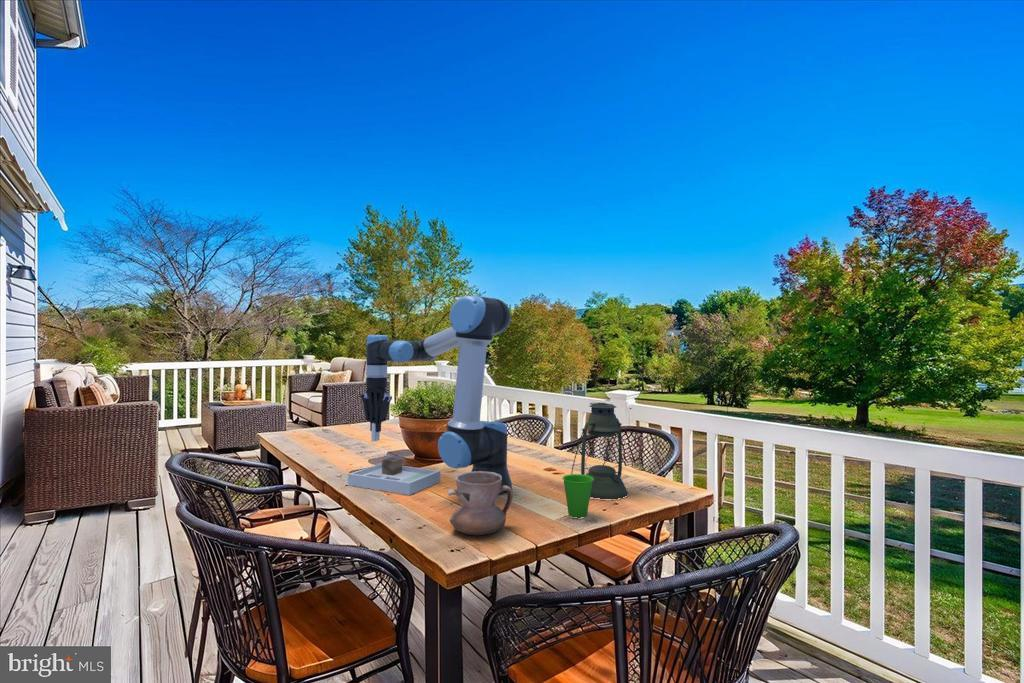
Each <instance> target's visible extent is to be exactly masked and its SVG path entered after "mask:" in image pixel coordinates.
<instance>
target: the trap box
mask: <svg viewBox="0 0 1024 683" xmlns="http://www.w3.org/2000/svg"><path fill="white" fill-rule="evenodd" d="M438 482H439V483H441V470H435V469H428V468H421V467H413V466H406V465H402V472H401V473H399V474H396V475H386V474H382V462H381V463H379V464H378V463H377V464H374V465H372V466H368V467H365V468H363V469H360V470H357V471H353V472H350V473H347V486H348V485H350V486H349V487H354V486H356V488H360V487H363V488H362V489H366V488H370V489H369V490H372V489H376V490H375V491H378V490H383V491H382V492H384V491H389V492H388V493H390V492H395V493H394V494H396V493H400V494H399V495H402V494H406V495H405V496H408V495H410V496H411V494H412V495H414V494H416V492H417V493H419V492H421V491H423V490H425V488H426V489H428V488H430V487H432V486H435V485H436V483H437V484H439V483H438ZM434 484H435V485H434ZM429 486H430V487H429ZM427 487H428V488H427ZM422 489H423V490H422ZM420 490H421V491H420ZM418 491H419V492H418ZM413 493H414V494H413Z"/></svg>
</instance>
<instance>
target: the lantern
mask: <svg viewBox="0 0 1024 683" xmlns="http://www.w3.org/2000/svg"><path fill="white" fill-rule="evenodd" d="M588 407H590V409H591V412H590V413H589V415H588V421H587V422H586V423H585V425H584V427H583V428H582V429H581V431H582V432H581V436H580V439H579V442H578V444H577V445H578V446H577V448H576V451H575V455H574V459H573V463H572V466H571V467H572V468H571V473H570V474H573V471H574V466H575V462H576V458H577V454H578V450H579V448H580V444H581V456H580V458H581V462H580V464H581V465H580V472H581V473H580V474H582V475H588V476H591V477H593V479H594V481H593V482H592V488H591V494H590V497H593V498H600V499H618V498H623V497H625V496H627V494H628V495H629V491H628V490H627V488H626V485H625V484H624V481H623V480H622V478H621V477H622V471H623V445H622V444H623V443H622V442H623V440H622V427H621V426H622V423H621V422H620V421H619V419H618V418H617V415H616V414H615V408H617V406H616V405H614V404H613V403H606V402H594V403H593V402H590V403H589V406H588ZM588 435H589V436H593V437H601V438H605V437H607V438H610V437H614V439H613V441H612V443H611V444H609V445H606V446H605V445H604V446H603V447H601V448H599V449H597V450H595V449H594V448H593V447H592V446H590V444H588V442H587V436H588ZM616 438H617V441H616V442H615V440H616ZM581 441H582V442H581ZM616 443H617V445H618V450H617V453H618V456H617V457H618V460H615V459H612V458H610V457H609V455H610V453H611V450H612V449H613V445H615V444H616ZM586 444H587V445H588V447H589V448H590V449H592V450H593V452H592V453H590V454H588V456H587V457H586ZM609 446H610V449H609V450H608V454H607V455H604V454H602V453H600V452H598V451H600V450H602V449H604V448H607V447H609ZM593 453H597V454H600V455H602V456H603V457H605V460H604V462H603V463H602V464H597V465H596V464H595V465H592V466H591V467H589V468H588V467H587V460H588V458H589V457H590V456H591V455H592V454H593ZM608 459H610V460H612V461H613V462H616V463H617V464H618V465H617V466H610V465H605V464H606V462H607V460H608ZM585 468H586V470H587V471H588V472H587V473H585V472H586V471H585ZM615 468H618V469H617V470H616V469H615ZM627 497H628V496H627ZM623 499H624V498H623Z"/></svg>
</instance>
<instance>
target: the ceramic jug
mask: <svg viewBox="0 0 1024 683" xmlns="http://www.w3.org/2000/svg"><path fill="white" fill-rule="evenodd" d="M501 483H502V476H501V475H500V474H496V473H494V472H483V471H478V472H477V471H475V472H471V471H468V472H463V473H461V474H458V475H457V476H456V477H455V484H456V489H455V488H451V489H448V490H447V491H446V492H447V494H448V496H449V497H450V496H456V497H458V498H460V499H461V502H462V505H460V506H459V507H458V508H456V509H455V510H454V511H453V512H452V515H451V516H450V518H449V523H450V524H451V525H452V527H453V528H454V529H455V530H456V531H458V532H460V533H462V534H464V535H465V534H466V535H470V536H485V535H490V534H493V533H495V532H497V531H499V530H501V529H502V528H503V527H504V526H505V524H506V521H507V513H508V510H509V508H510V507H511V504H512V502H513V496H514V495H513V490H512V489H513V488H512V489H511V488H510V487H509V486H506V485H504V486H501ZM502 491H507V493H506V494H507V498H506V501H505V503H504V506H503V508H500V507H499V506H498V505H496V504H495V502H496V500H497V498H498V496H499V495H498V494H500V493H501V492H502Z"/></svg>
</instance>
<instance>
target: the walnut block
mask: <svg viewBox="0 0 1024 683" xmlns="http://www.w3.org/2000/svg"><path fill="white" fill-rule="evenodd" d="M381 463H382V474H386V475H396V474H399V473H401V472H402V466H403V458H399V457H392V456H390V457H387V458H385V459H382V460H381Z"/></svg>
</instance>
